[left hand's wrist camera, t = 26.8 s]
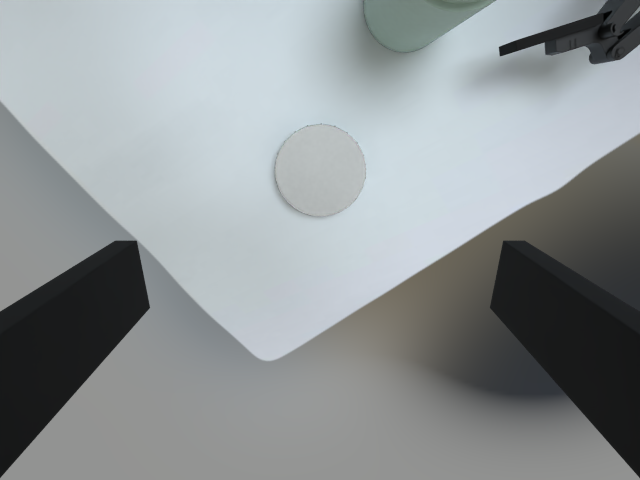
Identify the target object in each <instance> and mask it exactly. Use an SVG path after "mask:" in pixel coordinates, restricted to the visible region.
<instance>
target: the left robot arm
mask: <svg viewBox="0 0 640 480" xmlns="http://www.w3.org/2000/svg"><path fill="white" fill-rule="evenodd" d="M149 308H150V306H149V300H148V295H147V290H146V285H145V280H144V275H143V270H142V265H141V260H140V255H139V250H138V245H137V241H114V242H112V243H111V244H109V245H108V246H106V247H104V248H103V249H101V250H100V251H98V252H96V253H95V254H93V255H91V256H90V257H88V258H86V259H85V260H83V261H82V262H80V263H78V264H77V265H75V266H74V267H72V268H70V269H69V270H67V271H65V272H64V273H62V274H61V275H59V276H57V277H56V278H54V279H52V280H51V281H49V282H48V283H46V284H44V285H43V286H41V287H39V288H38V289H36V290H35V291H33V292H31V293H30V294H28V295H26V296H25V297H23V298H22V299H20V300H18V301H17V302H15V303H13V304H12V305H10V306H9V307H7V308H5V309H4V310H2V311H0V478H1V476H2V475H3V474H4V473H5V472H6V471H7V470H8V468H9V467H10V466H11V465H12V464H13V463H14V462H15V460H16V459H17V458H18V457H19V456H20V455H21V454H22V453H23V451H24V450H25V449H26V448H27V447H28V446H29V445H30V443H31V442H32V441H33V440H34V439H35V438H36V437H37V435H38V434H39V433H40V432H41V431H42V430H43V429H44V428H45V426H46V425H47V424H48V423H49V422H50V421H51V420H52V418H53V417H54V416H55V415H56V414H57V413H58V412H59V410H60V409H61V408H62V407H63V406H64V405H65V404H66V403H67V401H68V400H69V399H70V398H71V397H72V396H73V395H74V393H75V392H76V391H77V390H78V389H79V388H80V387H81V385H82V384H83V383H84V382H85V381H86V380H87V379H88V378H89V376H90V375H91V374H92V373H93V372H94V371H95V370H96V368H97V367H98V366H99V365H100V364H101V363H102V362H103V360H104V359H105V358H106V357H107V356H108V355H109V354H110V353H111V351H112V350H113V349H114V348H115V347H116V346H117V345H118V343H119V342H120V341H121V340H122V339H123V338H124V337H125V335H126V334H127V333H128V332H129V331H130V330H131V329H132V328H133V326H134V325H135V324H136V323H137V322H138V321H139V320H140V318H141V317H142V316H143V315H144V314H145V313H146V312H147V311H148V309H149ZM490 308H491V309H492V310H493V312H494V313H495V314H496V315H497V316H498V317H499V318H500V320H501V321H502V322H503V323H504V324H505V325H506V326H507V328H508V329H509V330H510V331H511V332H512V333H513V334H514V336H515V337H516V338H517V339H518V340H519V341H520V342H521V343H522V345H523V346H524V347H525V348H526V349H527V350H528V351H529V353H530V354H531V355H532V356H533V357H534V358H535V359H536V361H537V362H538V363H539V364H540V365H541V366H542V367H543V368H544V370H545V371H546V372H547V373H548V374H549V375H550V376H551V378H552V379H553V380H554V381H555V382H556V383H557V384H558V385H559V387H560V388H561V389H562V390H563V391H564V392H565V393H566V395H567V396H568V397H569V398H570V399H571V400H572V401H573V403H574V404H575V405H576V406H577V407H578V408H579V409H580V410H581V412H582V413H583V414H584V415H585V416H586V417H587V418H588V420H589V421H590V422H591V423H592V424H593V425H594V426H595V428H596V429H597V430H598V431H599V432H600V433H601V434H602V435H603V437H604V438H605V439H606V440H607V441H608V442H609V443H610V445H611V446H612V447H613V448H614V449H615V450H616V451H617V453H618V454H619V455H620V456H621V457H622V458H623V459H624V460H625V462H626V463H627V464H628V465H629V466H630V467H631V468H632V469H633V471H634V472H635V473H636V474H637V475H638V476H639V478H640V312H639V311H638V310H636V309H635V308H633V307H631V306H630V305H628V304H626V303H625V302H623V301H622V300H620V299H618V298H617V297H615V296H614V295H612V294H610V293H609V292H607V291H605V290H604V289H602V288H600V287H599V286H597V285H596V284H594V283H592V282H591V281H589V280H588V279H586V278H584V277H583V276H581V275H579V274H578V273H576V272H575V271H573V270H571V269H570V268H568V267H566V266H565V265H563V264H562V263H560V262H558V261H557V260H555V259H553V258H552V257H550V256H549V255H547V254H545V253H544V252H542V251H541V250H539V249H537V248H536V247H534V246H532V245H531V244H529V243H528V242H526V241H503V245H502V250H501V255H500V260H499V265H498V270H497V275H496V280H495V285H494V290H493V295H492V300H491V305H490Z"/></svg>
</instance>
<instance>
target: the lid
mask: <svg viewBox="0 0 640 480" xmlns="http://www.w3.org/2000/svg"><path fill="white" fill-rule="evenodd" d="M277 155H278V156H277V160H276V165H275V176H276V182H277V185H278V188H279V190H280V192H281V194H282V195H283V197H284V198H285V200H286V201H287V202H288V203H289V204H290V205H291V206H292V207H294V208H295V209H297V210H298V211H300V212H302V213H305V214H308V215H312V216H329V215H333V214H336V213H339V212H341V211H343V210H344V209H346V208H347V207H349V206H350V205H351V204H352V203H353V202H354V201H355V200H356V199H357V197H358V196H359V194H360V192H361V190H362V188H363V185H364V182H365V177H366V164H365V159H364V155H363V153H362V151H361V149H360V147H359V145H358V143H357V142H356V141H355V140H354V139H353V138H352V137H351V136H350V135H348V133H347V132H344V131H343V130H341V129H339V128H337V127H336V126H331V125H325V124H322V123H321V124H317V125H311V126H308V125H307V127H304V128H302V129H300V130H298V131H297V132H296V131H295V132H294V134H293V135H291V136H290V137H289V138H288V139H287V140H286V141H285V142H284V144H283V146H282V147H281V149H280V151H279V153H278V154H277Z"/></svg>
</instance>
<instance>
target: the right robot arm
mask: <svg viewBox="0 0 640 480" xmlns="http://www.w3.org/2000/svg"><path fill="white" fill-rule="evenodd" d="M639 6H640V0H608V1H607V2H606V3H605V5H604V6H603V7H602V8H601V10H600V11H599V12H598V13H597V15H594V16H591V17H588V18H585V19H582V20H578V21H575V22H572V23H569V24H566V25H563V26H560V27H557V28H553V29H550V30H547V31H544V32H541V33H538V34H535V35H532V36H528V37H525V38H522V39H519V40H516V41H513V42H511V43H508V44H505V45H503V46H500V47H499V52H500V56H503V55H506V54H509V53H512V52H516V51H519V50H522V49H525V48H528V47H531V46H534V45H538V44H541V43H544V42H545V54H546V55H555V54H559V53H563V52H566V51H569V50H572V49H576V48H579V47H582V46H586V47H588V48H589V50H590V52H591V54H590V56H589V61H590V62H591V63H592V64H599V63H605V62H610V61H615V60H620V59H622V58H623V57H625V56H626V55H627V54H628V53H630V52H631V51H632V50H633V49H634V48H636V47H637V46H638V45H639V44H640V12H638V13H637V14H636V15H635V16H634V17H632V18H631V19H630V20H629V21H628V22H627V20H628V19H629V18H630V17H631V16H632V14H633V13H634V12H635V11H636V10H637V8H638V7H639Z"/></svg>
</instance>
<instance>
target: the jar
mask: <svg viewBox="0 0 640 480" xmlns="http://www.w3.org/2000/svg"><path fill="white" fill-rule="evenodd" d="M494 1H496V0H364V15H365V19H366V23H367V25H368V28H369V30H370V32H371V33H372V35H373V36H374V37H375V39H376V40H377V41H378V42H379V43H380V44H382V45H383V46H384V47H386V48H388V49H390V50H393V51H397V52H412V51H416V50H418V49H421V48H423V47H425V46H426V45H428V44H430V43H431V42H433V41H434V40H436V39H437V38H439V37H440V36H442V35H444V34H445V33H447V32H448V31H450V30H451V29H453V28H454V27H456V26H457V25H459V24H460V23H462V22H464V21H465V20H467V19H468V18H470V17H471V16H473V15H474V14H476V13H477V12H479V11H481V10H482V9H484V8H485V7H487V6H488V5H490V4H491V3H493V2H494Z"/></svg>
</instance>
